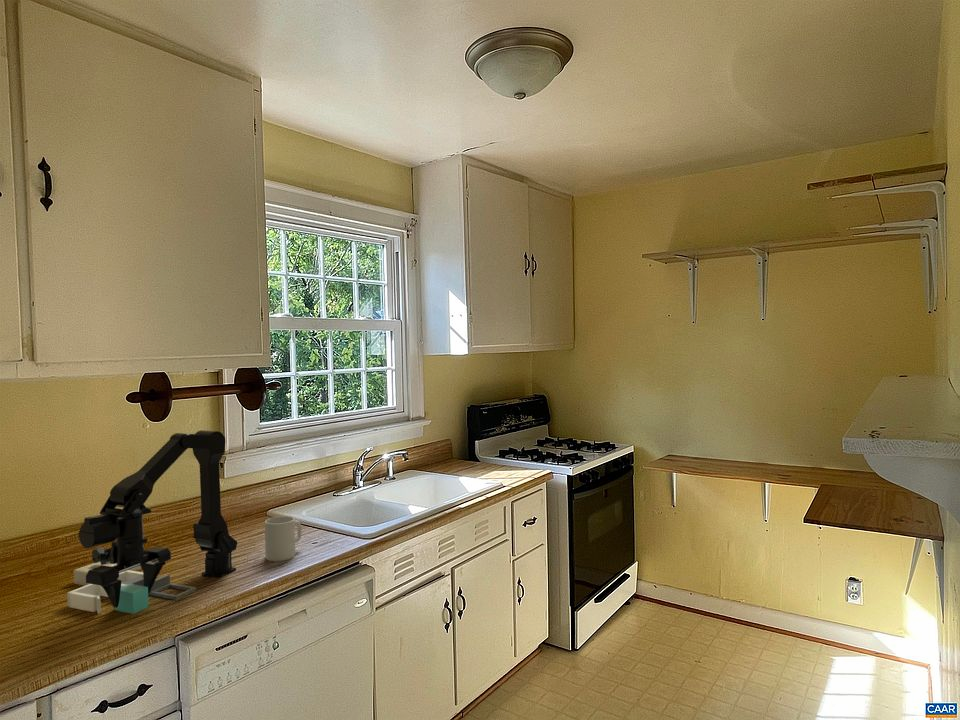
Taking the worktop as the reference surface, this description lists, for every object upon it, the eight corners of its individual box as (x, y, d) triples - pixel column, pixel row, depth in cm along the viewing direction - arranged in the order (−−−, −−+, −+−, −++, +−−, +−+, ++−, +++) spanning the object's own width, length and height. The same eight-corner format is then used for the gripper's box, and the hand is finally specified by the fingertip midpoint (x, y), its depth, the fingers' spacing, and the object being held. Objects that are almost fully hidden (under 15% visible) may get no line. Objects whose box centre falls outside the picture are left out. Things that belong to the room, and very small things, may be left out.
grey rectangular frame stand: (146, 594, 156) (146, 582, 156) (167, 585, 162) (167, 574, 161) (176, 599, 152) (175, 587, 152) (196, 590, 158) (195, 578, 158)
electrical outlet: (151, 551, 178) (90, 573, 162) (152, 565, 178) (90, 588, 162) (134, 548, 181) (72, 569, 164) (135, 562, 181) (73, 584, 165)
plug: (113, 610, 147) (112, 589, 147) (128, 603, 151) (127, 583, 151) (133, 614, 145) (133, 593, 144) (148, 607, 148) (147, 586, 148)
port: (157, 588, 160) (157, 574, 160) (98, 613, 145) (98, 599, 145) (127, 582, 164) (126, 569, 164) (66, 607, 149) (65, 593, 149)
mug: (278, 563, 177) (277, 525, 177) (259, 558, 182) (258, 521, 181) (310, 551, 187) (309, 515, 187) (292, 546, 192) (291, 512, 191)
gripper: (139, 522, 159) (141, 582, 159) (68, 544, 141) (70, 611, 142) (171, 526, 155) (173, 587, 155) (102, 549, 137) (104, 618, 138)
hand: (131, 600), depth 147 cm, fingers open, 8 cm apart
